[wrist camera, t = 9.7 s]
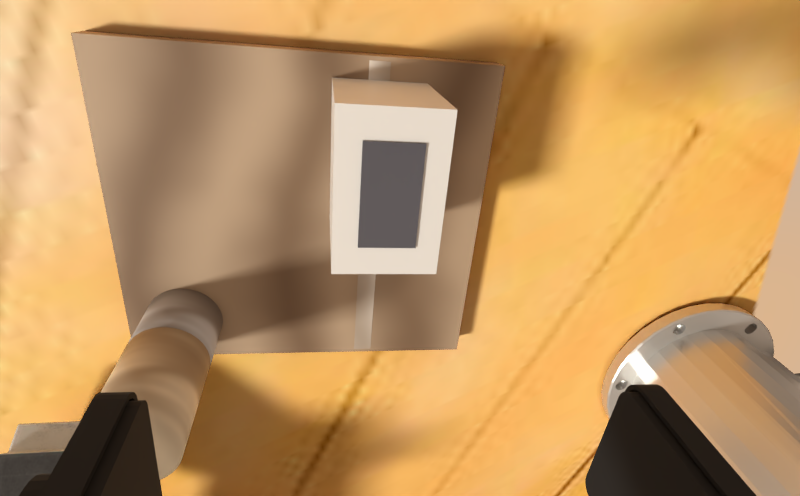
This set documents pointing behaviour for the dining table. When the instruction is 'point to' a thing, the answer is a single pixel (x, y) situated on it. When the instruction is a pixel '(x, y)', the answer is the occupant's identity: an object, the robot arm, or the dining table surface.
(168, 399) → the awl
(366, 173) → the white rectangular block
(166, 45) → the board
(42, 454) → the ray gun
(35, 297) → the dining table surface
